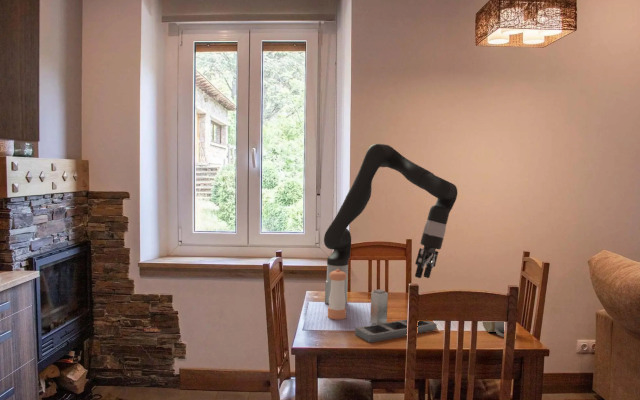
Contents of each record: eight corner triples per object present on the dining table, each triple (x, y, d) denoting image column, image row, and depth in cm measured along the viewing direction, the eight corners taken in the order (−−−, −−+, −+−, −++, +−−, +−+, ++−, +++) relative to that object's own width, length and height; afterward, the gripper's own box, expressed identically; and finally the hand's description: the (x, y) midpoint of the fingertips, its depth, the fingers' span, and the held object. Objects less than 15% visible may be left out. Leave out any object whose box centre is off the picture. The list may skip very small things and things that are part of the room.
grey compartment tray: (369, 342, 162) (370, 335, 162) (355, 334, 170) (355, 327, 170) (436, 330, 177) (436, 323, 177) (420, 323, 185) (420, 317, 185)
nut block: (377, 325, 181) (378, 292, 181) (370, 322, 185) (371, 289, 185) (386, 323, 184) (387, 291, 183) (379, 320, 187) (380, 288, 187)
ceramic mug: (480, 329, 180) (481, 309, 179) (498, 327, 182) (499, 308, 182) (499, 339, 170) (500, 318, 169) (518, 337, 172) (519, 316, 172)
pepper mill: (324, 317, 189) (325, 269, 188) (332, 313, 196) (333, 266, 195) (341, 320, 186) (342, 271, 185) (348, 315, 192) (350, 268, 191)
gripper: (430, 233, 182) (419, 274, 182) (416, 230, 170) (405, 274, 170) (449, 238, 178) (438, 280, 178) (436, 235, 166) (424, 280, 166)
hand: (422, 277), depth 174 cm, fingers open, 8 cm apart
